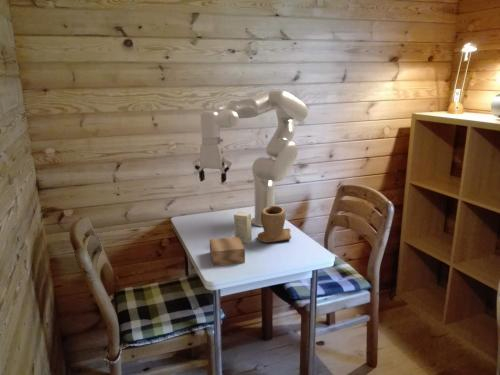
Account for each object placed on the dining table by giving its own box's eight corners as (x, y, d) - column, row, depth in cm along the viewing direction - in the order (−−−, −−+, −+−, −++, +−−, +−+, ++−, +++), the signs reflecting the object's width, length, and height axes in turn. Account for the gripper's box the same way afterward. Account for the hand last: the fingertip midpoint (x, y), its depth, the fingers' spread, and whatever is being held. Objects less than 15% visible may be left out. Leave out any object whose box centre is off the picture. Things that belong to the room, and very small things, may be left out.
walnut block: (239, 250, 165) (239, 236, 163) (245, 263, 153) (244, 248, 152) (210, 253, 162) (209, 239, 161) (213, 266, 151) (212, 251, 149)
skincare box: (252, 240, 174) (251, 213, 171) (247, 243, 170) (247, 216, 167) (238, 237, 177) (238, 211, 174) (234, 241, 173) (233, 214, 170)
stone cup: (262, 247, 167) (262, 212, 163) (255, 236, 178) (255, 204, 174) (297, 243, 170) (298, 209, 166) (288, 233, 181) (288, 201, 178)
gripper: (233, 140, 168) (235, 180, 173) (195, 139, 173) (198, 178, 178) (227, 143, 161) (228, 184, 166) (187, 142, 166) (190, 182, 171)
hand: (212, 181), depth 172 cm, fingers open, 9 cm apart
